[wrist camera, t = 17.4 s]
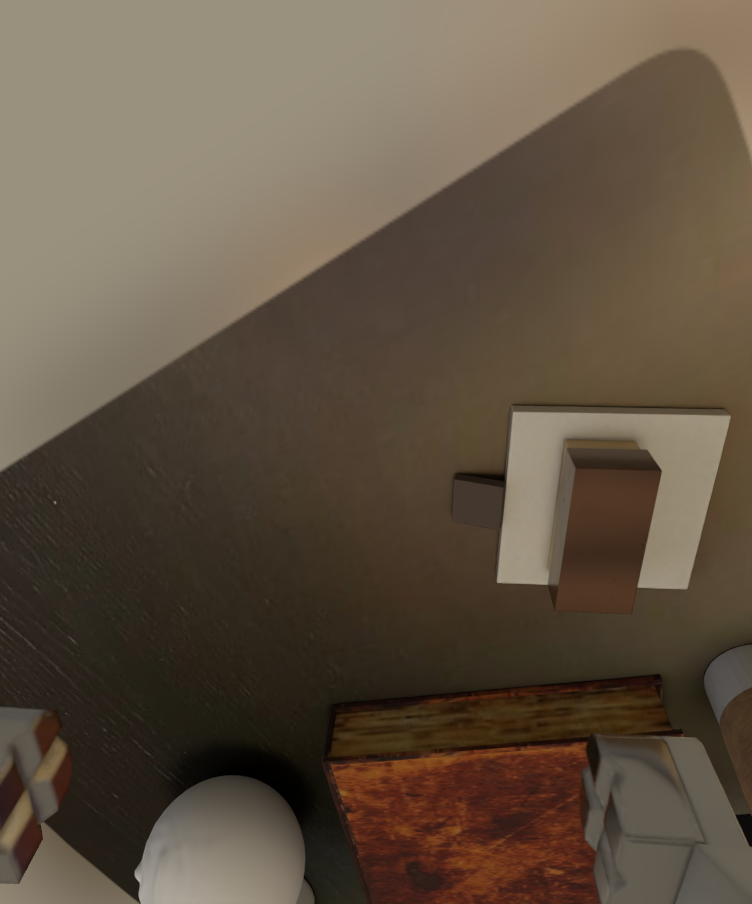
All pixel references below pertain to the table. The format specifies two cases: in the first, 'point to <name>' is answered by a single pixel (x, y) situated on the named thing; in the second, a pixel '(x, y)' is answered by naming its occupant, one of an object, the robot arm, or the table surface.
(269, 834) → the decorative ball
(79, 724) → the table surface
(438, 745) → the book
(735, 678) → the coffee cup
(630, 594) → the brown rectangular block
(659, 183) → the table surface
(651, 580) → the tile
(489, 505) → the dark brown square block
